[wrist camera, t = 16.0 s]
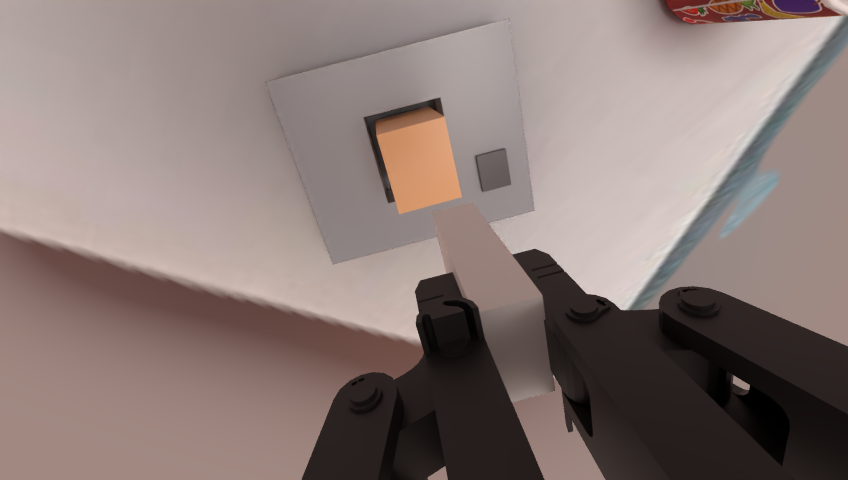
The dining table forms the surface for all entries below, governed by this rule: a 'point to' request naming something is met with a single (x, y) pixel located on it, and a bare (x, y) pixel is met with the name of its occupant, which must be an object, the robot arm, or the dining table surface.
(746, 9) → the smoothie
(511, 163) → the socket box
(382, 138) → the plug
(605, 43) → the dining table surface
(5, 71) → the dining table surface
